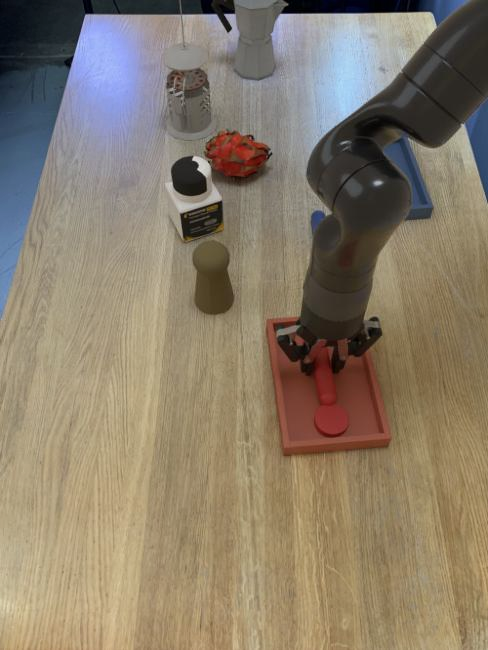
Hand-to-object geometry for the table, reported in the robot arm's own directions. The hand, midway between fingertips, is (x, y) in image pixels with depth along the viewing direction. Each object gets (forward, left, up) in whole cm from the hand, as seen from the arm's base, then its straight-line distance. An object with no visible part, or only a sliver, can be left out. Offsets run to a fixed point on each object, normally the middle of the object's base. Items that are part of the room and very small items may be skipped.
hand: (321, 368), depth 83 cm
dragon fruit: (+8, -42, -1) cm, 43 cm away
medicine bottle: (+16, -30, -1) cm, 34 cm away
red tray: (0, +2, -1) cm, 2 cm away
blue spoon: (-4, -20, -1) cm, 20 cm away
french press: (+16, -55, -1) cm, 57 cm away
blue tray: (-16, -37, -1) cm, 40 cm away
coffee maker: (+3, -73, -1) cm, 73 cm away
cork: (+14, -14, -1) cm, 20 cm away
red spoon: (0, +3, 0) cm, 3 cm away
